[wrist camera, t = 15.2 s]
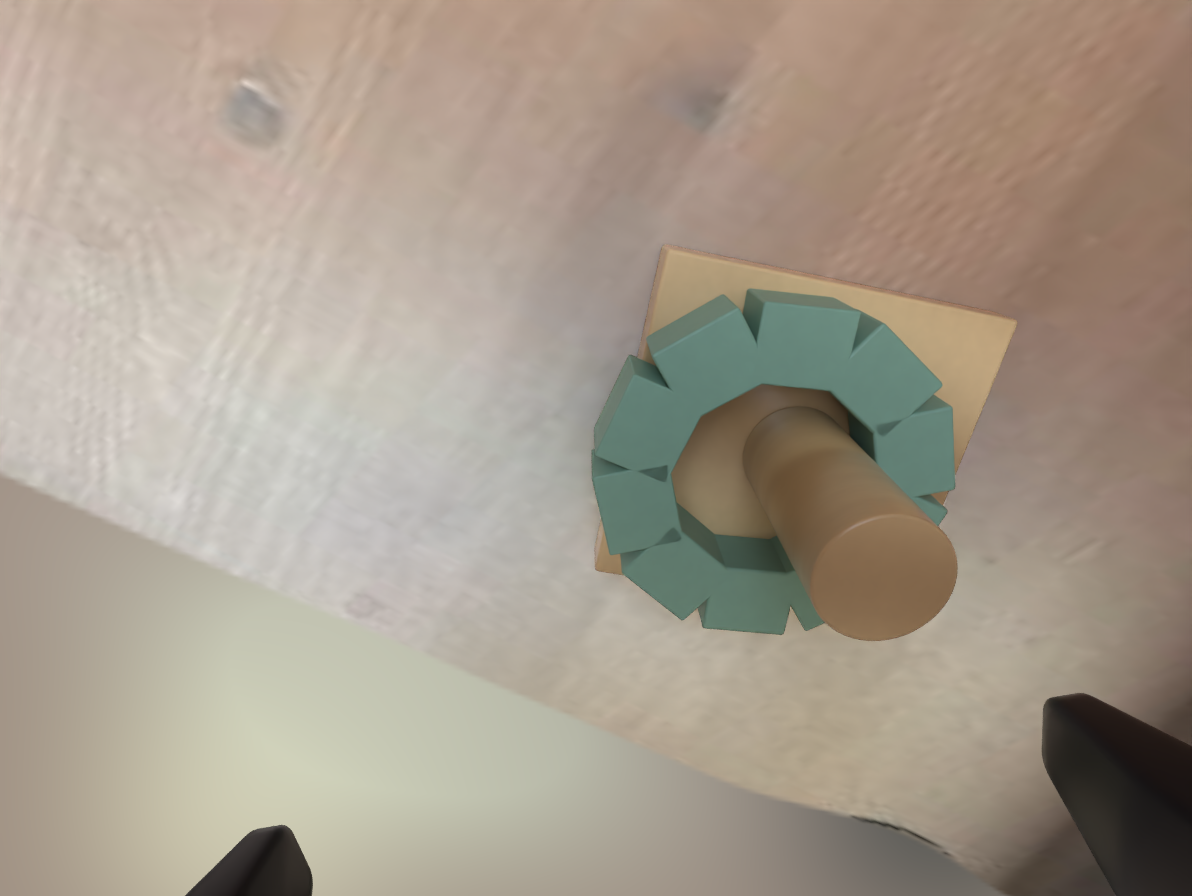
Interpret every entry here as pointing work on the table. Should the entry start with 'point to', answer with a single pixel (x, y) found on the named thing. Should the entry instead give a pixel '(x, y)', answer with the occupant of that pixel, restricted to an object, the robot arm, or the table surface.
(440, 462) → the table surface
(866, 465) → the post
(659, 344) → the ring
